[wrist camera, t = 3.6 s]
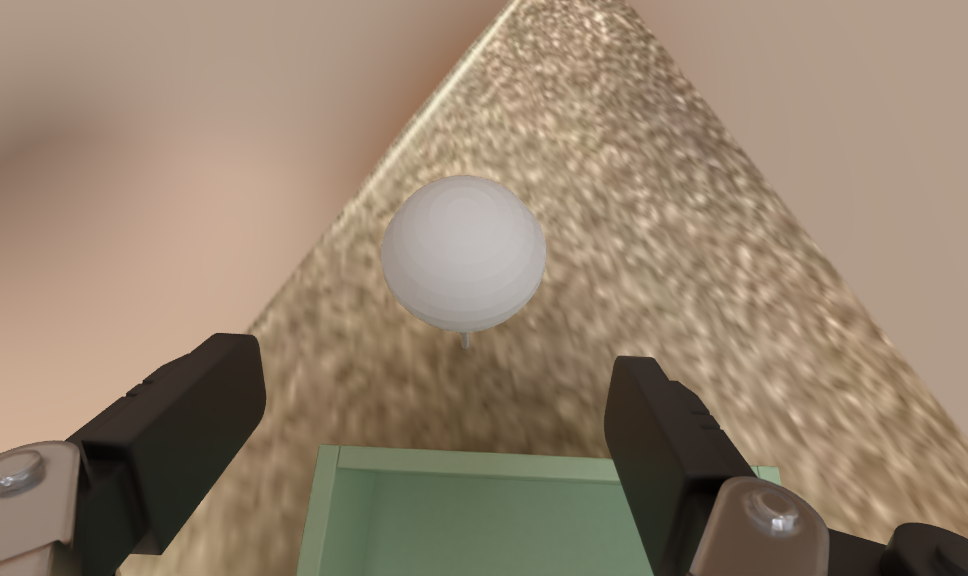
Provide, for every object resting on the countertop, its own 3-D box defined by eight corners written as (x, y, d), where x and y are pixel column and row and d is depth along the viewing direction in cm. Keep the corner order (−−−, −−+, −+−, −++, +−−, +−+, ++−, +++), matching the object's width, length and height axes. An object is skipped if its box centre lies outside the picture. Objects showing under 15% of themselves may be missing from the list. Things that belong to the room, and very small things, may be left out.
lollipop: (420, 401, 27) (372, 310, 13) (410, 309, 29) (360, 150, 15) (523, 384, 27) (580, 281, 14) (505, 296, 30) (538, 131, 16)
